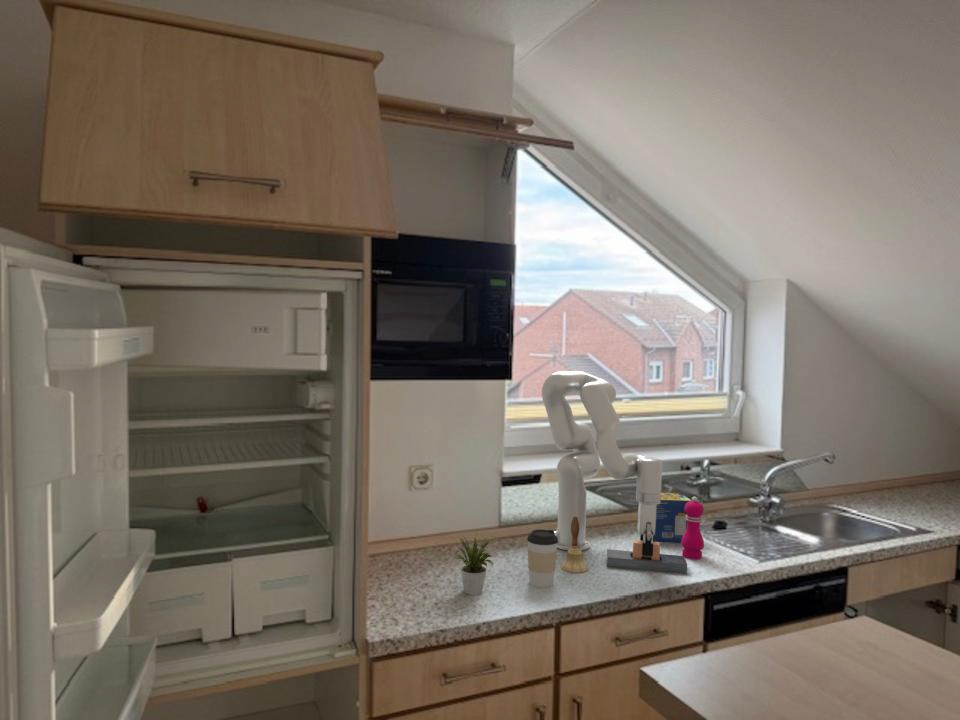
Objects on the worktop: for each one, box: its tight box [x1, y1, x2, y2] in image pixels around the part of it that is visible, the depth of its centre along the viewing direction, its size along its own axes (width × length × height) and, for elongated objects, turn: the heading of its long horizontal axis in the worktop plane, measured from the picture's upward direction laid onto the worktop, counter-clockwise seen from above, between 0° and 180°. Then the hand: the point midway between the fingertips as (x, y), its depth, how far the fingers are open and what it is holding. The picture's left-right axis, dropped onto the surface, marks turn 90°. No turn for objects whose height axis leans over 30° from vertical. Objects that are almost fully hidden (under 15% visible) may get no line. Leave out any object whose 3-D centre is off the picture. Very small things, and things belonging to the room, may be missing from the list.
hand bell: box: [560, 517, 589, 574], centre depth 201 cm, size 8×8×16 cm
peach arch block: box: [632, 539, 661, 560], centre depth 206 cm, size 8×3×8 cm, turn 80°
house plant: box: [446, 531, 494, 596], centre depth 180 cm, size 14×14×16 cm
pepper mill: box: [680, 496, 705, 560], centre depth 216 cm, size 7×7×20 cm
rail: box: [606, 548, 688, 575], centre depth 206 cm, size 24×8×3 cm, turn 80°
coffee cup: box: [526, 529, 558, 588], centre depth 188 cm, size 9×9×15 cm
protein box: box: [653, 492, 692, 544], centre depth 235 cm, size 10×15×16 cm
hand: (646, 550), depth 206 cm, fingers open, 9 cm apart
